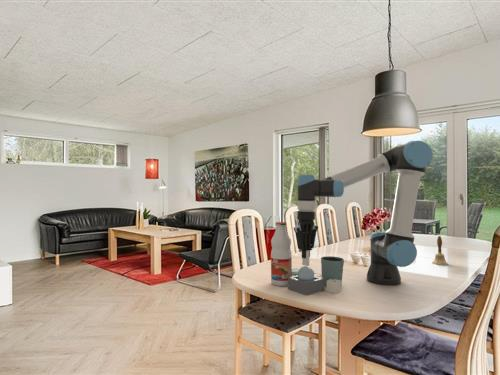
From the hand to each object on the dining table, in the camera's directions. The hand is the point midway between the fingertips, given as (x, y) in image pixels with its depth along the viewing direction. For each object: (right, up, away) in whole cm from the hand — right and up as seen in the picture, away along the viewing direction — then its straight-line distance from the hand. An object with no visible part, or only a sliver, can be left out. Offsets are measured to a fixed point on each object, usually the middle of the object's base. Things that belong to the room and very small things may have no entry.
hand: (305, 265), depth 149 cm
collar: (0, -11, 0) cm, 11 cm away
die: (+12, -11, -2) cm, 16 cm away
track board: (+3, -11, +21) cm, 24 cm away
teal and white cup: (+13, -11, +7) cm, 19 cm away
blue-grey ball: (0, -8, 0) cm, 8 cm away
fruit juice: (-10, -11, +9) cm, 17 cm away
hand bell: (+86, -11, +52) cm, 101 cm away
